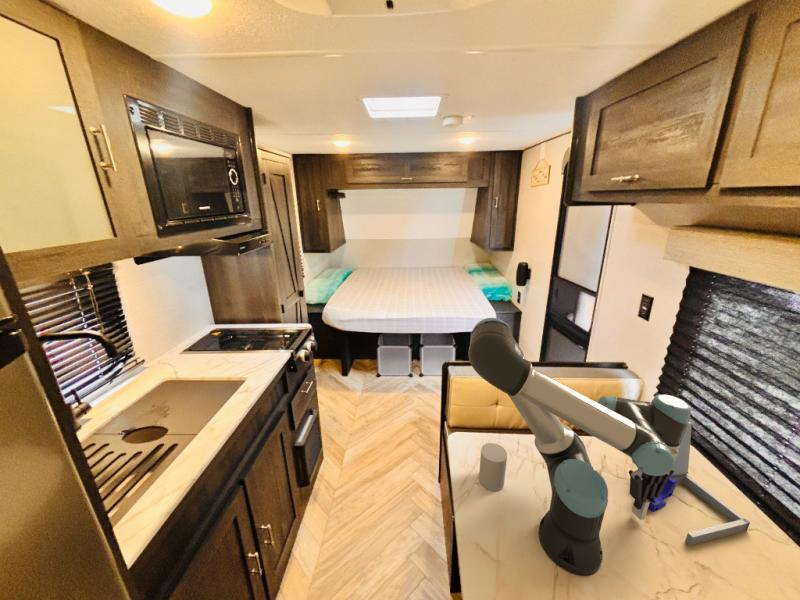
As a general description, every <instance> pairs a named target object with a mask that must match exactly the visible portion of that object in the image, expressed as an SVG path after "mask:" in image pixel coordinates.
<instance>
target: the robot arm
mask: <svg viewBox="0 0 800 600" xmlns="http://www.w3.org/2000/svg"><path fill="white" fill-rule="evenodd" d="M468 360H469V363H470V365H471V367H472V368H473V370H474V371H475V372H476V374H478V376H480V377H481V378H482V379H483V380H484V381H486V382H487V383H488V384H490V385H492V386H493V387H495V389H498V390H500V391H501V392H503V393H505V394H507V396H508V397H509V399H510V400H511V403H513V405H514V406H515V408H516V409H517V410H518V412H519V414H520V416H521V417H522V419H523V420H524V422H525V424H526V425H527V426H528V427H529V429H530V431H531V432H532V434H533V436H534V446H535V448H536V450H537V451H538V453H539V454H540V455H541V457H542V459H543V460H544V462H545V465H546V469H547V473H548V474H547V475H548V478H549V483H550V487H551V488H550V489H551V499H550V505H549V509H548V510H547V512H546V513H545V514H544V516H543V517H542V518H541V519H540V523H539V524H538V525H539V526H538V533H537V534H538V539H539V544H540V545H541V547H542V549H543V551H544V553H545V554H546V556H547V557H548V558H549V559H550V560H551V561H552V562H553V563H555V565H557V566H558V567H559V568H561V569H562V570H564V571H566V572H568V573H570V574H573V575H575V576H579V577H580V576H581V577H588V576H592V575H595V574H596V573H597V572H598V571H599V570H600V568H601V566H602V562H603V557H604V555H603V554H604V553H603V547H602V545H601V542H602V541H601V539H600V531H601V528H602V525H603V520H604V516H605V512H606V509H607V507H608V503H609V500H608V499H609V489H608V484H607V483H606V480H605V478H604V477H603V476H602V474H601V473H600V472H599V471H598V470H595V469H594V466H592V463H591V461H590V458H589V455H588V453H587V449H586V446H585V443H584V442H583V440H582V439H581V438H580V436H579V435H578V434H577V433H576V432H575V431H574V430H573V429H572V428H571V427H570V426H568V425H567V424H564V423H562V422H561V420H563V421H565V422H567V423H569V424H571V425H572V426H574V427H575V428H578V429H579V430H581V431H583V432H585V433H587V434H588V435H591V436H593V437H594V438H596V439H598V440H600V441H601V442H603V443H605V444H607V445H609V446H611V447H613V448H614V449H616V450H618V451H619V452H621V453H623V454H625V455H626V456H628V457H630V459H631V461H632V463H633V464H634V465H635V467H636V468H637V469H636V470H633V469H630V470H629V471H628V474H629V477H630V479H629V495H630V496H631V497H632V498H633V499H634V502H633V506H632V509H631V512H632V514H633V515H635V517H637V519H638V520H640V521H642V520H645V519H646V516H647V513H648V510H649V509H648V507H649V503H650V501H651V502H652V503H655V502H656V501H655V500H654V499H653V498H654V497H655V498H658V497H659V495H660V493H661V492H662V490H663V488H664V486H665V484H666V483H667V481H668V479H669V477H670V476H671V475H672V474H673V473H674V470H673V468H674V465H675V461H676V456H677V454H678V453H679V452H678V450H679V447H680V444H681V442H682V439H683V436H684V434H685V431H686V428H687V425H688V424H689V422H690V418H691V413H692V409H691V407H690V405H688V403H687V402H685V401H684V400H682V399H680V398H679V397H676V396H673V395H669V394H664V393H662V394H661V393H660V394H656V395H655V396H654V398H653V399H652V400H651V401H643V400H636V399H630V398H624V397H618V396H607V395H603V396H601V397H599V398H598V401H595V400H593V399H592V398H590V397H588V396H586V395H585V394H582V393H580V392H578V391H576V390H575V389H573V388H571V387H569V386H567V385H565V384H564V383H562V382H560V381H558V380H556V379H554V378H553V377H551V376H549V375H547V374H545V373H543V372H542V371H539V370H537V368H533V364H532V362H531V361H529V360H527V359H525V354H524V352H523V350H522V349H521V348H520V345H519V344H518V342H517V341H516V340H515V338H514V336H513V330H512V328H511V327H510V326H509V324H508V323H507V322H506V321H504V320H502V319H500V318H496V317H488V318H483V319H482V320H480V321H478V322H477V323H476V324H475V325H474V327H473V329H472V331H471V333H470V341H469V347H468ZM560 419H561V420H560Z"/></svg>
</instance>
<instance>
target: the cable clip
mask: <svg viewBox="0 0 800 600" xmlns="http://www.w3.org/2000/svg"><path fill="white" fill-rule="evenodd" d="M676 482H677V481H676V480H674V479H673V478H671V477H669V479H668V481H667V483H666V484H665V486H664V488H663V490H662V492H661V493H660V495H659V497H658V498H655V497H654V498H653V499H654V500H655V501H656V502H655V503H652V502H651V501H650V503H649V507H648V510H649V511H650V512H651V513H652V514H654V513H655V512H657V511H658V510H661V509H663V508H664V507H666V505H667V502H666V501H665V500H666V499H668V498H671V497H672V496H673V495H674V490H675V488H676V486H677V484H676Z"/></svg>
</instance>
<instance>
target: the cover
mask: <svg viewBox="0 0 800 600" xmlns="http://www.w3.org/2000/svg"><path fill="white" fill-rule="evenodd" d="M692 424H693V423H692V422H691V421H689V424H688V425H687V428H686V431H685V434H684V436H683V439H682V442H681V444H680V447H679V450H678V452H679V453H678V454H677V456H676V461H675V465H674V468H673V470H674V473H673V474H672V475H671V476H670V477H675V476H680V475H684V474H687V475H689V464H690V449H691V440H692V439H691V437H692V426H693V425H692Z"/></svg>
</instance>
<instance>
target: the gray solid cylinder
mask: <svg viewBox="0 0 800 600" xmlns="http://www.w3.org/2000/svg"><path fill="white" fill-rule="evenodd" d="M480 450H481V451H480V461H479V462H480V463H479V472H478V481H479V484H480V486H482V488H483V489H485V490H486V491H489V492H492V493H495V492H496V493H497V492H500V491H502V490H503V489H504V486H505V479H506V470H507V461H508V460H507V459H508V452H507V450H506V449H505V448H504V447H503V446H501V445H500V444H498V443H495V442H487V443H485V444H483V445H482V447H481V449H480Z"/></svg>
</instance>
